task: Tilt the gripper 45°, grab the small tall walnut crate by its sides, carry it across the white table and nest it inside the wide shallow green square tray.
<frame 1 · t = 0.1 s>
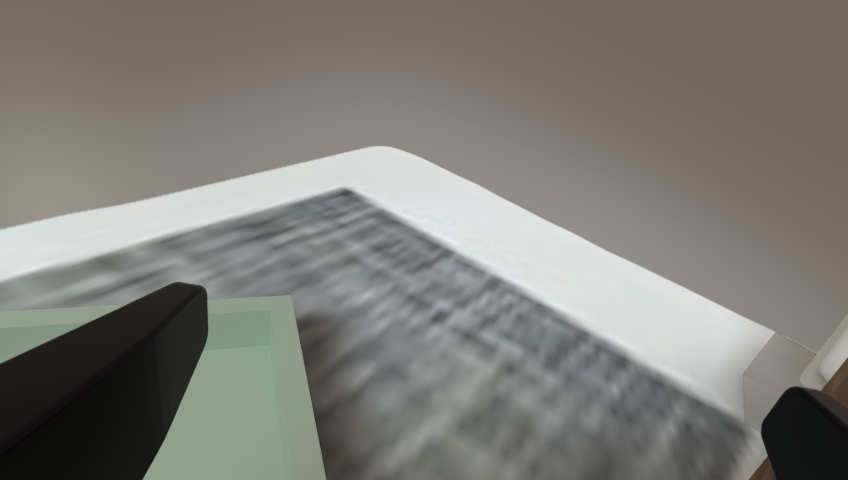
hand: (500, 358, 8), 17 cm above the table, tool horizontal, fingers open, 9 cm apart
figurine: (789, 431, 32), on the table
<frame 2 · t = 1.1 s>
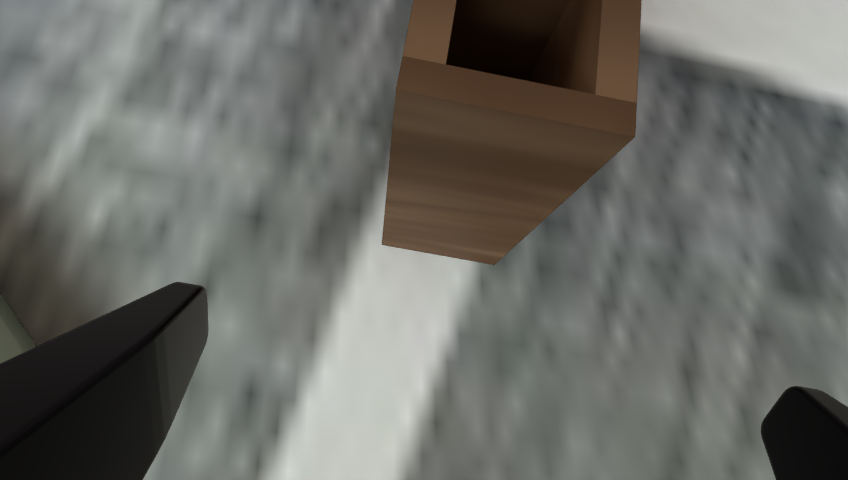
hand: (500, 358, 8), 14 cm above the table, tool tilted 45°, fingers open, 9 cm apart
walnut crate: (448, 191, 23), on the table
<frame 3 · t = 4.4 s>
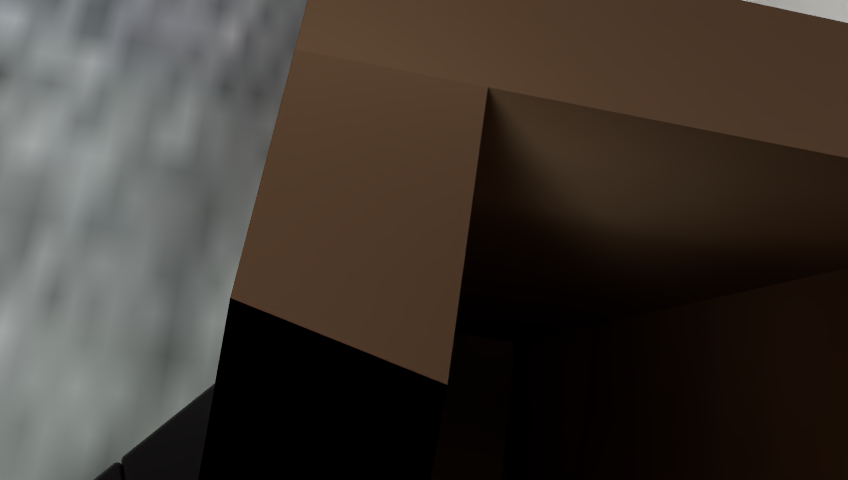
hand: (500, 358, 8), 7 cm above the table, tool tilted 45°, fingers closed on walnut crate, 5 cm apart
walnut crate: (433, 418, 14), on the table, touching gripper
when the fingers open (9 cm above the table, at t = 10.2 s): walnut crate drops 1 cm, resting on green square tray.
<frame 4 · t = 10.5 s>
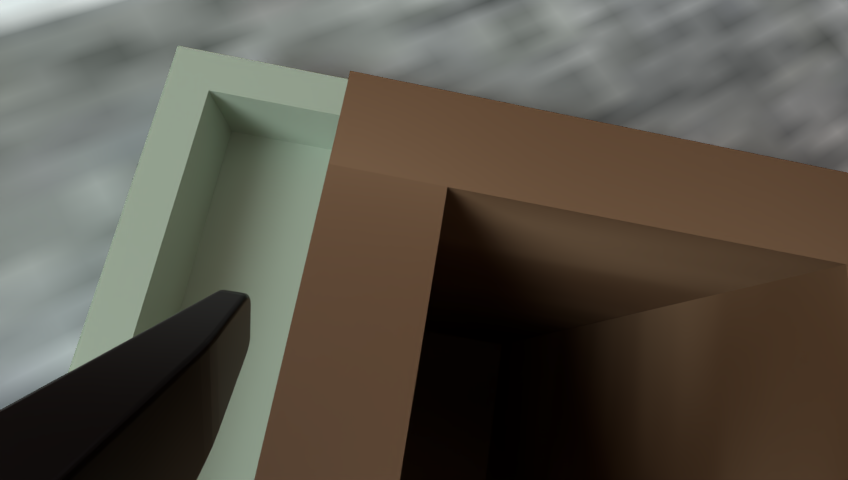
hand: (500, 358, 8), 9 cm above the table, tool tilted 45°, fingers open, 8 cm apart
green square tray: (424, 412, 16), on the table
walnut crate: (428, 412, 15), point 1 cm above the table, touching green square tray
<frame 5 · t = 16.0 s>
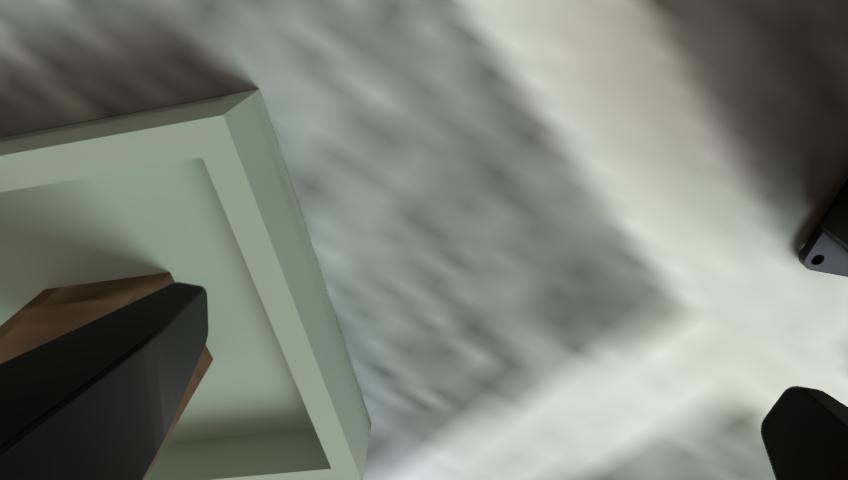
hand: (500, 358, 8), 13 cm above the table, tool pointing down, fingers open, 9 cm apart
green square tray: (144, 312, 24), on the table
walnut crate: (131, 325, 23), point 1 cm above the table, touching green square tray
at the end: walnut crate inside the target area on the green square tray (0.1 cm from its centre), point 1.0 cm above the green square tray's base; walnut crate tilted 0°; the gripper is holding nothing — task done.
